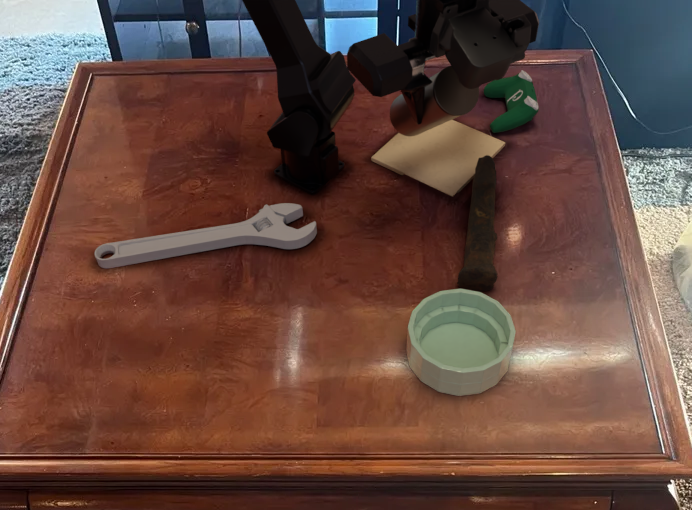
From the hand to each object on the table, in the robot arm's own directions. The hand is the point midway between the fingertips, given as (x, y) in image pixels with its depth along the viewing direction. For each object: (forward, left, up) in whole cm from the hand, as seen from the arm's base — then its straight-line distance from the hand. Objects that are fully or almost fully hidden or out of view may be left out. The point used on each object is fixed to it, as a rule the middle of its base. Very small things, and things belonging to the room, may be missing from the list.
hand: (438, 114), depth 85 cm
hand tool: (+7, -1, -13) cm, 15 cm away
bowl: (+15, -17, -13) cm, 26 cm away
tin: (-5, +2, -4) cm, 7 cm away
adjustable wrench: (-17, -20, -13) cm, 29 cm away
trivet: (-4, +8, -13) cm, 16 cm away
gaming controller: (-1, +20, -13) cm, 24 cm away
